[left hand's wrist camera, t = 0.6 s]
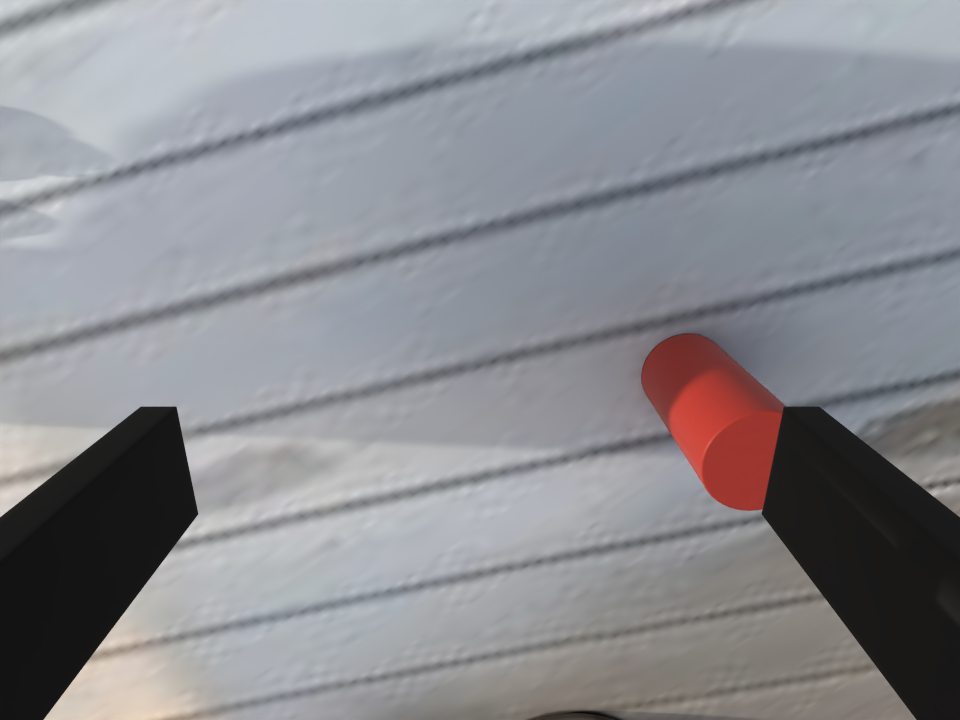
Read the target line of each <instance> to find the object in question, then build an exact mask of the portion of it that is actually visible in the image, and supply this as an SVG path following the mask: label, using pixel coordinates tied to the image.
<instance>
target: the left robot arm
mask: <svg viewBox="0 0 960 720" xmlns="http://www.w3.org/2000/svg"><path fill="white" fill-rule="evenodd" d="M197 515H198V511H197V506H196V501H195V496H194V491H193V486H192V481H191V476H190V471H189V467H188V462H187V457H186V452H185V447H184V442H183V437H182V432H181V427H180V422H179V417H178V413H177V408H176V407H140V408H139V409H137V410H136V411H135V412H134V413H132V414H131V415H130V416H129V417H127V418H126V419H125V420H123V421H122V422H121V423H120V424H118V425H117V426H116V427H115V428H113V429H112V430H111V431H109V432H108V433H107V434H106V435H104V436H103V437H102V438H101V439H99V440H98V441H97V442H95V443H94V444H93V445H92V446H90V447H89V448H88V449H87V450H85V451H84V452H83V453H81V454H80V455H79V456H78V457H76V458H75V459H74V460H73V461H71V462H70V463H69V464H67V465H66V466H65V467H64V468H62V469H61V470H60V471H59V472H57V473H56V474H55V475H54V476H52V477H51V478H50V479H48V480H47V481H46V482H45V483H43V484H42V485H41V486H40V487H38V488H37V489H36V490H34V491H33V492H32V493H31V494H29V495H28V496H27V497H26V498H24V499H23V500H22V501H20V502H19V503H18V504H17V505H15V506H14V507H13V508H12V509H10V510H9V511H8V512H6V513H5V514H4V515H3V516H1V517H0V720H44V718H45V717H46V716H47V714H48V713H49V712H50V710H51V709H52V708H53V706H54V705H55V704H56V702H57V701H58V700H59V698H60V697H61V696H62V694H63V693H64V692H65V690H66V689H67V688H68V686H69V685H70V684H71V682H72V681H73V680H74V678H75V677H76V676H77V674H78V673H79V672H80V670H81V669H82V668H83V666H84V665H85V664H86V662H87V661H88V660H89V658H90V657H91V656H92V654H93V653H94V652H95V650H96V649H97V648H98V646H99V645H100V644H101V643H102V641H103V640H104V639H105V637H106V636H107V635H108V633H109V632H110V631H111V629H112V628H113V627H114V625H115V624H116V623H117V621H118V620H119V619H120V617H121V616H122V615H123V613H124V612H125V611H126V609H127V608H128V607H129V605H130V604H131V603H132V601H133V600H134V599H135V597H136V596H137V595H138V593H139V592H140V591H141V589H142V588H143V587H144V585H145V584H146V583H147V581H148V580H149V579H150V577H151V576H152V575H153V573H154V572H155V571H156V569H157V568H158V567H159V566H160V564H161V563H162V562H163V560H164V559H165V558H166V556H167V555H168V554H169V552H170V551H171V550H172V548H173V547H174V546H175V544H176V543H177V542H178V540H179V539H180V538H181V536H182V535H183V534H184V532H185V531H186V530H187V528H188V527H189V526H190V524H191V523H192V522H193V520H194V519H195V518H196V516H197ZM762 515H763V516H764V518H765V519H766V520H767V522H768V523H769V524H770V526H771V527H772V528H773V530H774V531H775V532H776V534H777V535H778V536H779V538H780V539H781V540H782V542H783V543H784V544H785V546H786V547H787V548H788V550H789V551H790V552H791V554H792V555H793V556H794V558H795V559H796V560H797V562H798V563H799V564H800V566H801V567H802V568H803V569H804V571H805V572H806V573H807V575H808V576H809V577H810V579H811V580H812V581H813V583H814V584H815V585H816V587H817V588H818V589H819V591H820V592H821V593H822V595H823V596H824V597H825V599H826V600H827V601H828V603H829V604H830V605H831V607H832V608H833V609H834V611H835V612H836V613H837V615H838V616H839V617H840V619H841V620H842V621H843V623H844V624H845V625H846V627H847V628H848V629H849V631H850V632H851V633H852V635H853V636H854V637H855V639H856V640H857V641H858V643H859V644H860V645H861V646H862V648H863V649H864V650H865V652H866V653H867V654H868V656H869V657H870V658H871V660H872V661H873V662H874V664H875V665H876V666H877V668H878V669H879V670H880V672H881V673H882V674H883V676H884V677H885V678H886V680H887V681H888V682H889V684H890V685H891V686H892V688H893V689H894V690H895V692H896V693H897V694H898V696H899V697H900V698H901V700H902V701H903V702H904V704H905V705H906V706H907V708H908V709H909V710H910V712H911V713H912V714H913V716H914V717H915V718H916V720H960V517H959V516H957V515H956V514H955V513H954V512H952V511H951V510H950V509H948V508H947V507H946V506H945V505H943V504H942V503H941V502H940V501H938V500H937V499H936V498H934V497H933V496H932V495H931V494H929V493H928V492H927V491H926V490H924V489H923V488H922V487H920V486H919V485H918V484H917V483H915V482H914V481H913V480H912V479H910V478H909V477H908V476H906V475H905V474H904V473H903V472H901V471H900V470H899V469H898V468H896V467H895V466H894V465H893V464H891V463H890V462H889V461H887V460H886V459H885V458H884V457H882V456H881V455H880V454H879V453H877V452H876V451H875V450H873V449H872V448H871V447H870V446H868V445H867V444H866V443H865V442H863V441H862V440H861V439H859V438H858V437H857V436H856V435H854V434H853V433H852V432H851V431H849V430H848V429H847V428H845V427H844V426H843V425H842V424H840V423H839V422H838V421H837V420H835V419H834V418H833V417H831V416H830V415H829V414H828V413H826V412H825V411H824V410H823V409H821V408H820V407H784V408H783V413H782V417H781V422H780V427H779V432H778V437H777V442H776V447H775V452H774V457H773V462H772V467H771V471H770V476H769V481H768V486H767V491H766V496H765V501H764V506H763V511H762ZM535 720H615V719H612V718H608V717H604V716H600V715H593V714H583V713H568V714H558V715H551V716H546V717H542V718H539V719H535Z"/></svg>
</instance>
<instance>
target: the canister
mask: <svg viewBox="0 0 960 720" xmlns="http://www.w3.org/2000/svg"><path fill="white" fill-rule="evenodd" d="M641 380H642V386H643V389H644V392H645V394H646V395H647V397H648V398H649V400H650V402H651V403H652V405H653V406H654V408H655V409H656V411H657V413H658V414H659V416H660V417H661V419H662V420H663V422H664V424H665V425H666V427H667V428H668V430H669V431H670V433H671V435H672V436H673V438H674V439H675V441H676V442H677V444H678V446H679V447H680V449H681V450H682V452H683V453H684V455H685V457H686V458H687V460H688V461H689V463H690V464H691V466H692V468H693V469H694V471H695V472H696V474H697V475H698V477H699V479H700V480H701V482H702V483H703V485H704V486H705V488H706V489H707V491H708V492H709V494H710V495H711V496H712V497H713V498H714V499H716V500H717V501H718V502H720V503H722V504H723V505H726V506H728V507H731V508H734V509H738V510H748V511H752V510H761V509H763V506H764V501H765V496H766V491H767V486H768V481H769V476H770V471H771V467H772V462H773V457H774V452H775V447H776V442H777V437H778V432H779V427H780V422H781V417H782V413H783V408H784V407H786V406H785V405H784V404H783V403H782V402H781V401H780V400H778V399H777V398H776V397H775V396H774V395H773V394H772V393H771V392H769V391H768V390H767V389H766V388H765V387H764V386H763V385H762V384H760V383H759V382H758V381H757V380H756V379H755V378H754V377H753V376H751V375H750V374H749V373H748V372H747V371H746V370H745V369H744V368H742V367H741V366H740V365H739V364H738V363H737V362H736V361H735V360H733V359H732V358H731V357H730V356H729V355H728V354H727V353H725V352H724V351H723V350H722V349H721V348H720V347H719V346H718V345H716V344H715V343H714V342H713V341H711V340H710V339H708V338H706V337H704V336H700V335H696V334H682V335H677V336H674V337H671V338H669V339H667V340H665V341H663V342H662V343H660V344H659V345H658V346H656V347H655V348H654V349H653V350H652V352H651V353H650V354H649V356H648V357H647V359H646V361H645V363H644V366H643V369H642V376H641Z"/></svg>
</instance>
